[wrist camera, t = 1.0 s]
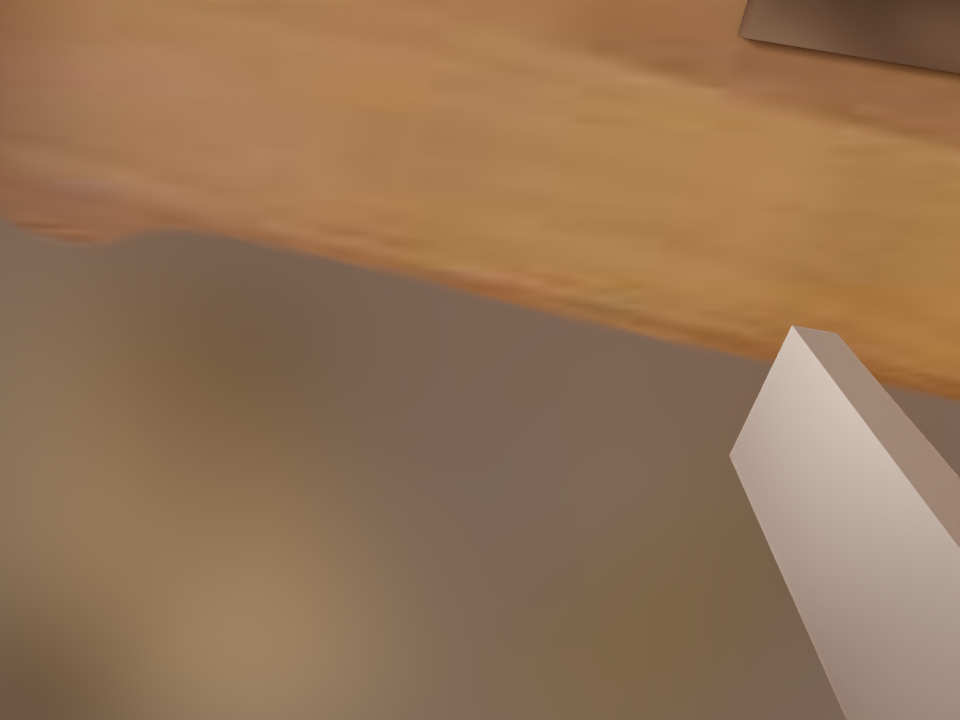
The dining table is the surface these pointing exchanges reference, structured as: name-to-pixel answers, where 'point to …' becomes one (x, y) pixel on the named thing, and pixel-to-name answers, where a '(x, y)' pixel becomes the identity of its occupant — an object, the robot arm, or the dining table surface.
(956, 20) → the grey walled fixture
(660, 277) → the dining table surface
